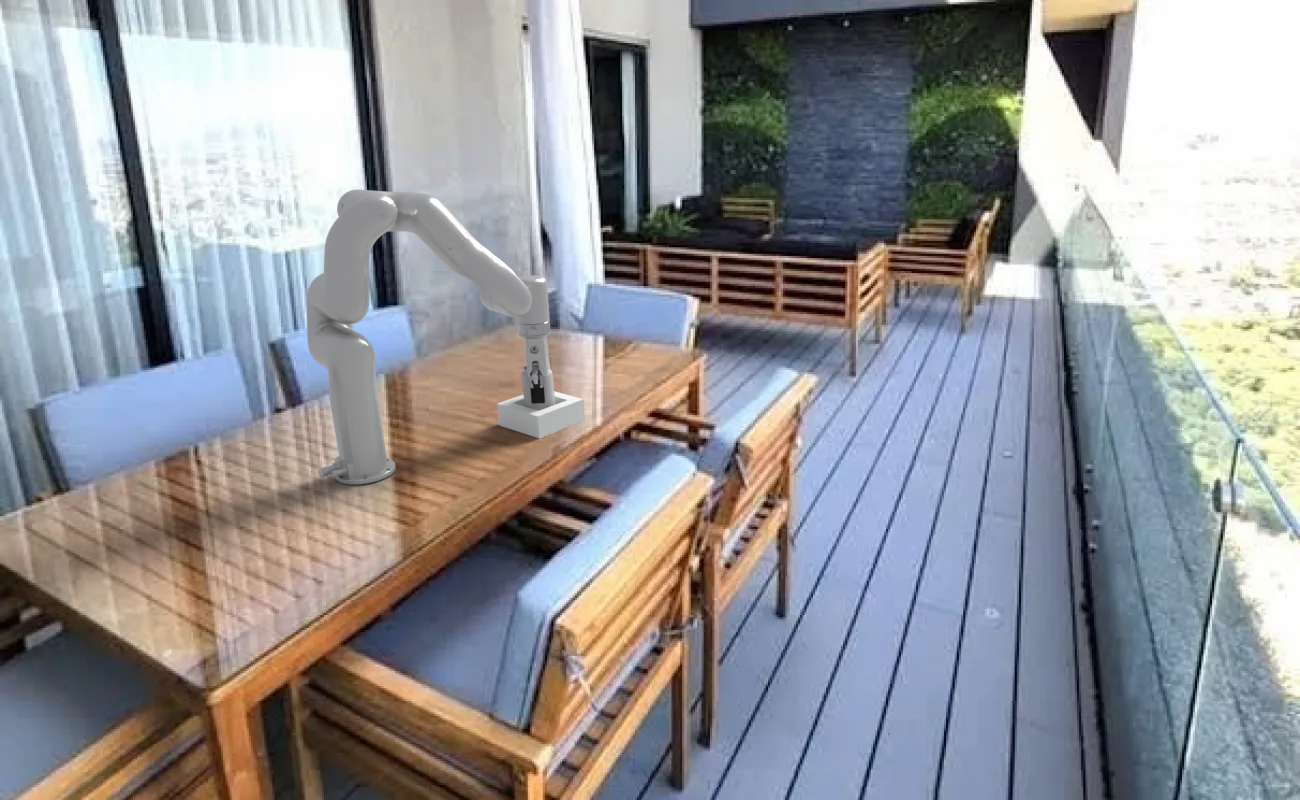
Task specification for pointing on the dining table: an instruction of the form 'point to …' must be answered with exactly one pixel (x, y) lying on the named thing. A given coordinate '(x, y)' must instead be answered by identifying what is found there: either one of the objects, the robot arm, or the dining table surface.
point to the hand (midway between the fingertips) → (539, 396)
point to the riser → (541, 415)
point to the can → (547, 390)
